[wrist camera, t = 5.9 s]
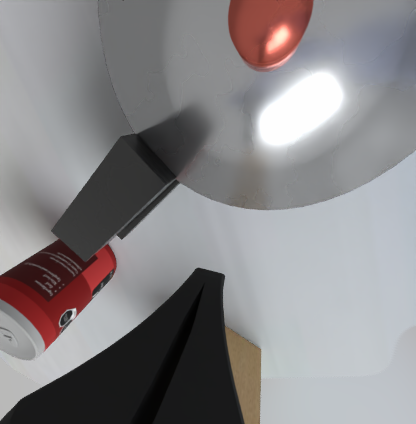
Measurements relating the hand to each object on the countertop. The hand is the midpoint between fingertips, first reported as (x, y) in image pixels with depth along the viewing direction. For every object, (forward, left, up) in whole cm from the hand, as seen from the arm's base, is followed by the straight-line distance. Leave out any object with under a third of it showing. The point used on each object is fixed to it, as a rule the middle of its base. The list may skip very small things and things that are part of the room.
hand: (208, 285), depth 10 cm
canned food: (+20, -6, -11) cm, 23 cm away
